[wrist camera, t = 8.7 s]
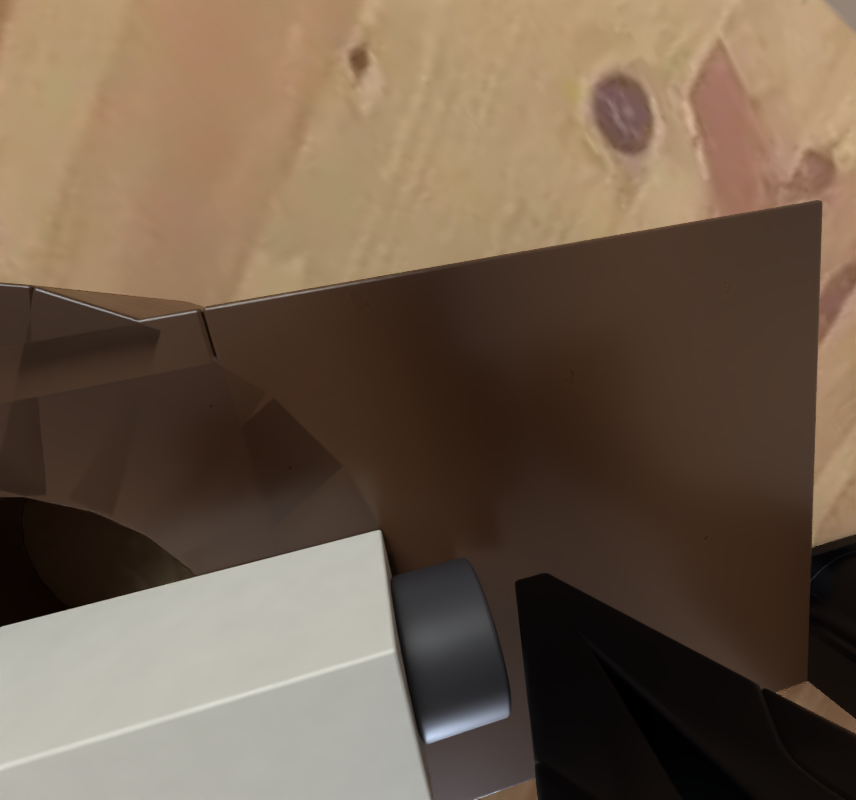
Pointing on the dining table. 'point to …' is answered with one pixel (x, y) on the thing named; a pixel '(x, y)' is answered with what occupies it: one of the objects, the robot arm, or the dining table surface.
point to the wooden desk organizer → (459, 435)
